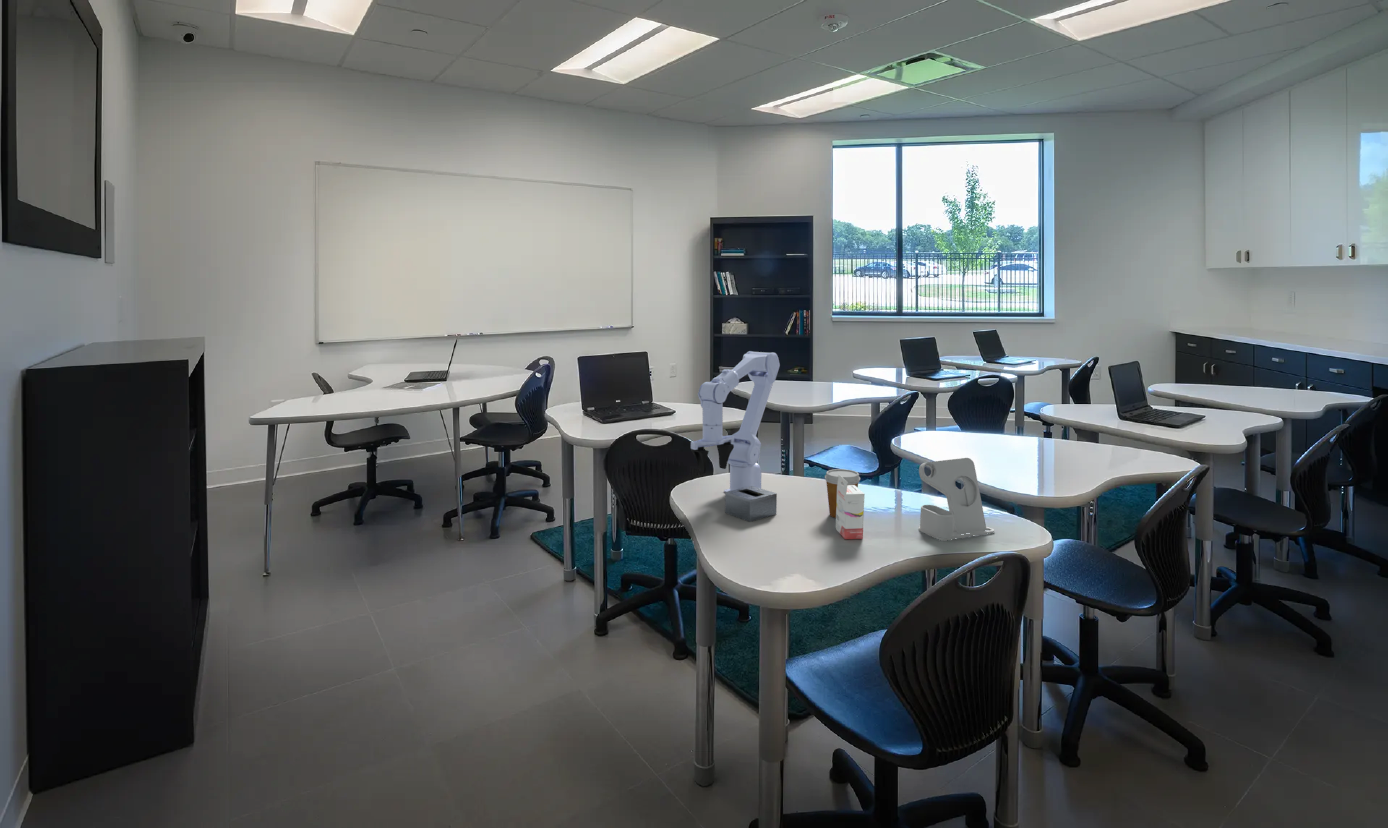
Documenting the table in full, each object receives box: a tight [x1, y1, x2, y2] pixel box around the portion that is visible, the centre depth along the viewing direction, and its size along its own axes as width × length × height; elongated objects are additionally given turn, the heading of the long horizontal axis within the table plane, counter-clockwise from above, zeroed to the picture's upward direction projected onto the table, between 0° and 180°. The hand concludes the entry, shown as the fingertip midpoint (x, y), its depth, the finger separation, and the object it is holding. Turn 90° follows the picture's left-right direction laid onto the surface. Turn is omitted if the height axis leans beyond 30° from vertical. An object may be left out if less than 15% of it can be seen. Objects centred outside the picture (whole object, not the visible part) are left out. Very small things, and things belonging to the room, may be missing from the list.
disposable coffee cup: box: [824, 468, 861, 519], centre depth 194 cm, size 10×10×12 cm
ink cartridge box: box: [835, 475, 865, 540], centre depth 180 cm, size 9×5×15 cm, turn 5°
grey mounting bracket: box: [917, 457, 995, 542], centre depth 181 cm, size 17×10×18 cm, turn 110°
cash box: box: [724, 486, 778, 523], centre depth 197 cm, size 10×10×6 cm
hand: (712, 470), depth 206 cm, fingers open, 7 cm apart
